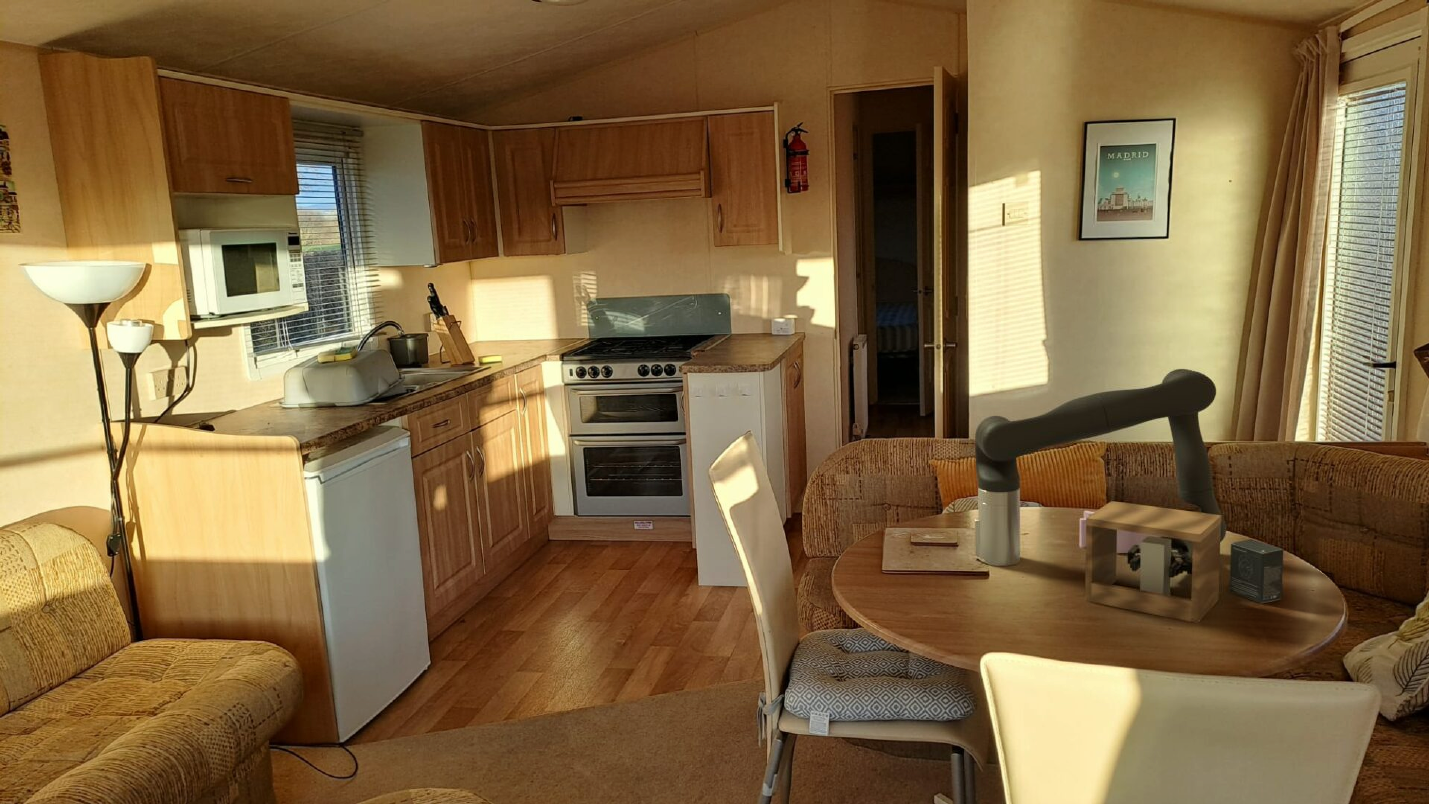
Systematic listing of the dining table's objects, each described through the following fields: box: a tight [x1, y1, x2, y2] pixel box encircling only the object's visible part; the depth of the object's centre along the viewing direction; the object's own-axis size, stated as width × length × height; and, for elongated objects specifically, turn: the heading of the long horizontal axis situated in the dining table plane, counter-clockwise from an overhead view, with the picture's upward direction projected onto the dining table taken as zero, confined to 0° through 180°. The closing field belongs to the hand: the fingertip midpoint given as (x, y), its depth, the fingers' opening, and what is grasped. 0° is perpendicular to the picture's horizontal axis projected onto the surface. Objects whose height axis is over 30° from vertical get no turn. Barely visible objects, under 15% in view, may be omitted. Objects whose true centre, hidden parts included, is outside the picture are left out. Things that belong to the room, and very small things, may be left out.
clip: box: [1079, 510, 1161, 553], centre depth 238 cm, size 20×12×7 cm, turn 62°
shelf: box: [1084, 500, 1221, 624], centre depth 204 cm, size 21×14×18 cm
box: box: [1229, 539, 1284, 604], centre depth 204 cm, size 8×6×11 cm
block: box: [1139, 536, 1171, 596], centre depth 206 cm, size 4×4×12 cm
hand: (1151, 569), depth 204 cm, fingers open, 6 cm apart
